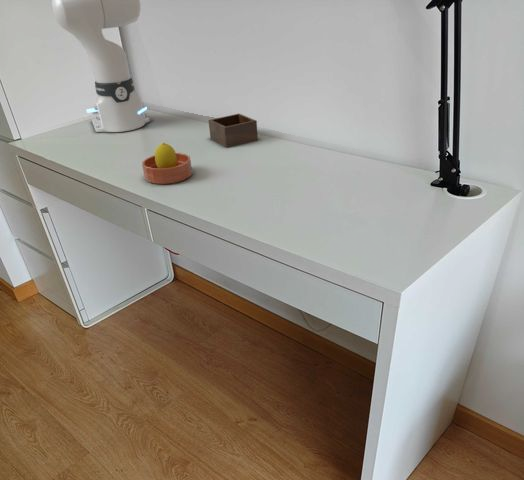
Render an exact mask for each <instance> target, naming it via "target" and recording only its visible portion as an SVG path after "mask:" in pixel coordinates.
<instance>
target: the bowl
mask: <svg viewBox="0 0 524 480" xmlns="http://www.w3.org/2000/svg"><path fill="white" fill-rule="evenodd" d="M175 153H176V156H177V166H175V167H171V168H162V169H160V168H158V167H157V165H156V162H155V154H154V155H151V156H149V157H146V158H145V159H144V160H143V161H141V162H142V163H141V165H142V171H143V176H144V180H146V181H147V182H148V183H151V184H152V183H153V184H159V185H168V184H169V185H170V184H176V183H179V182H181V181H184V180H186V179H188V178H190V177H191V176H192V175H193V169H192V161H191V156H189V155H188V154H186V153H181V152H175Z"/></svg>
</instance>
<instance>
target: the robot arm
mask: <svg viewBox="0 0 524 480" xmlns="http://www.w3.org/2000/svg"><path fill="white" fill-rule="evenodd" d="M51 10H52V14H53V16H54V19H55V20H56V22H57V24H58V25H59V26H60V27H61V28H62V29H64V30H65V31H66V32H68V33H70V34H71V35H73V37H75V39H76V40H78V41H79V43H80V44H81V46H82V47H83V48H84V50H85V51H86V54H87V57H88V59H89V62H90V66H91V69H92V73H93V75H94V76H93V77H94V80H95V81H94V89H95V94H96V99H95V102H94V106H91V107H90V108H88V109H86V113H92V115H96V116H95V117H93V118H92V119H91V121H92V125H93V128H94V131H95V132H96V133H106V132H107V133H122V132H128V131H134V130H137V129H140V128H142V127H144V126H145V124H148V123H150V120H151V119H150V117H147V116H146V115H145V111H146V110H148V107H147V106H145V107H143V103H142V99H141V96H140V95H139V94H138V93H136V92H135V84H134V80H133V78H132V77H131V73H130V68H129V61H128V58H127V53H126V51H125V50H124V48H123V47H122V46H121V45H119V44H118V43H116V42H113V41H111V40H108V39H106V38H105V35H104V34H103V30H104V29H112V28H113V29H114V28H120V27H121V28H122V27H125V26H128V25H130V24H133V23H135V22H137V21H138V19H139V18H140V14H141V1H140V0H51Z"/></svg>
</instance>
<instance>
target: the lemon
mask: <svg viewBox="0 0 524 480" xmlns="http://www.w3.org/2000/svg"><path fill="white" fill-rule="evenodd" d="M176 153H177V152H176V150H175V149H174V147H172V146H171V145H170V144H167V143H166V142H161V144H159V145H158V146H157V147H156V149H155V151H154V155H155V162H156V165H157V167H158V168H160V169H162V168H171V167H175V166H177V156H176Z"/></svg>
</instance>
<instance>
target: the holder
mask: <svg viewBox="0 0 524 480" xmlns="http://www.w3.org/2000/svg"><path fill="white" fill-rule="evenodd" d="M208 129H209V138H210V140H212V141H213V142H215V143H217V144H219V145H221V146H223V147H225V148H230V147H235V146H239V145H244V144H247V143H252V142H257V141H258V137H259V136H258V121H257V120H256V119H253V118H251V117H249V116H246V115H244V114H242V113H235V114H231V115H226V116H221V117H216V118H211V119H208Z"/></svg>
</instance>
